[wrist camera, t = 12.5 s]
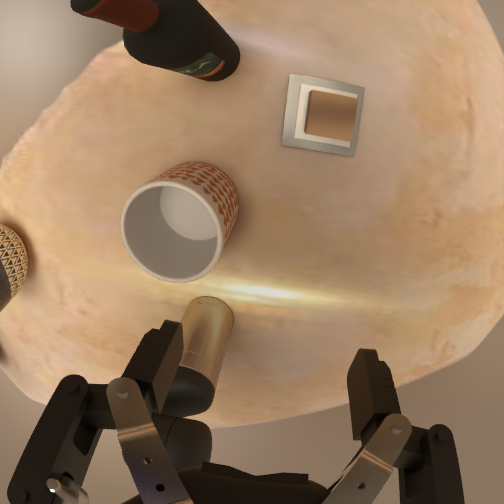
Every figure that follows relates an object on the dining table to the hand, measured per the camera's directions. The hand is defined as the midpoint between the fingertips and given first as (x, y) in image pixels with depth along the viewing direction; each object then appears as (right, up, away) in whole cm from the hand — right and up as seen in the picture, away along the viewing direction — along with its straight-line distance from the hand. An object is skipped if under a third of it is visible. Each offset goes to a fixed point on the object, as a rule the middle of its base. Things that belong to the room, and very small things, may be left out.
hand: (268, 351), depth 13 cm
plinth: (+9, +24, +25) cm, 36 cm away
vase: (-9, +12, +34) cm, 37 cm away
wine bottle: (-6, +32, +23) cm, 40 cm away
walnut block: (+8, +21, +20) cm, 30 cm away
